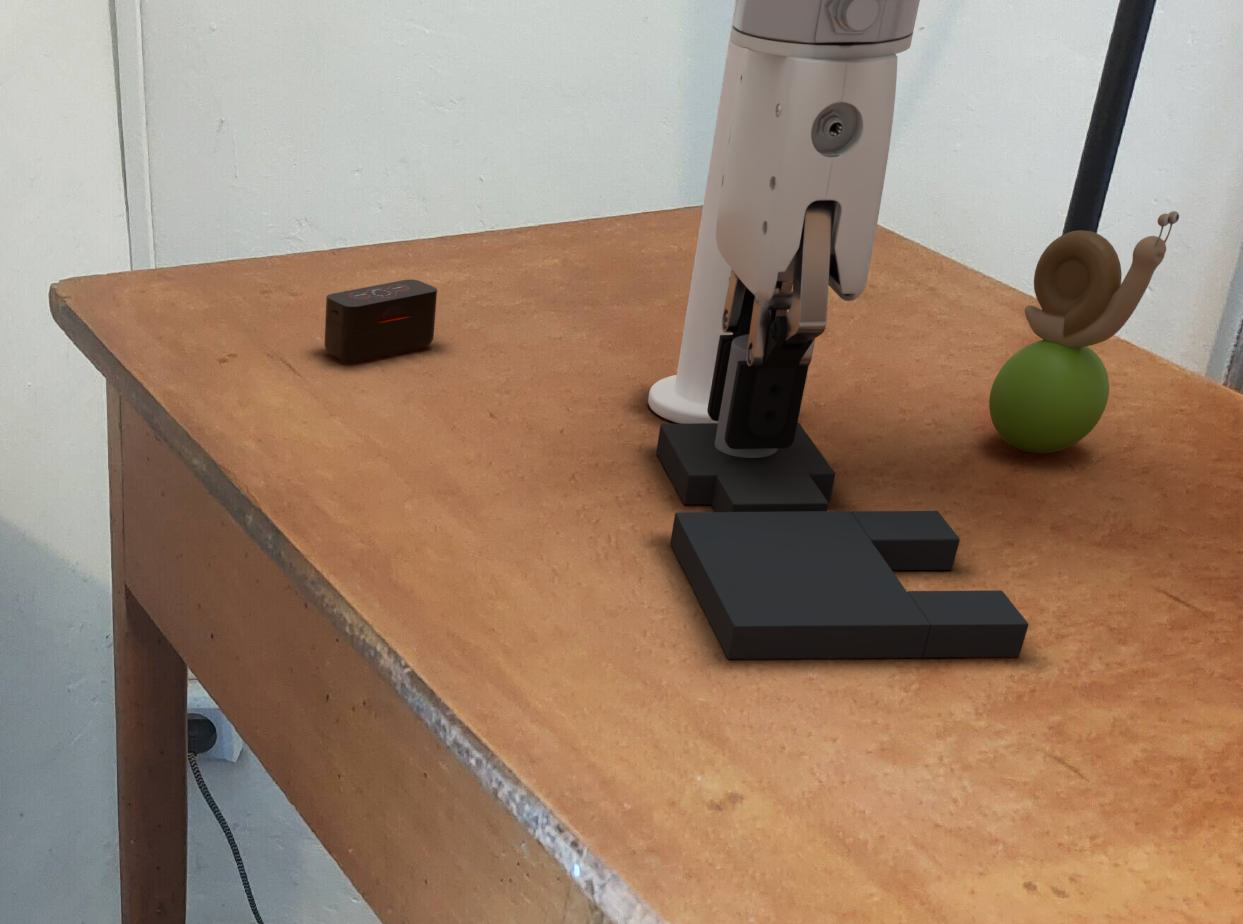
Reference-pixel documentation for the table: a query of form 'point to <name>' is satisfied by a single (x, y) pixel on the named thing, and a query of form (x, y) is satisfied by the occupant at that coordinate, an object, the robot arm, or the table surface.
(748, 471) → the plug with cylindrical handle
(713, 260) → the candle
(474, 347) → the table surface
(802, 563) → the dock pad
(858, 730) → the table surface
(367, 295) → the black bluetooth speaker
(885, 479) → the table surface
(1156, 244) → the snail figurine
